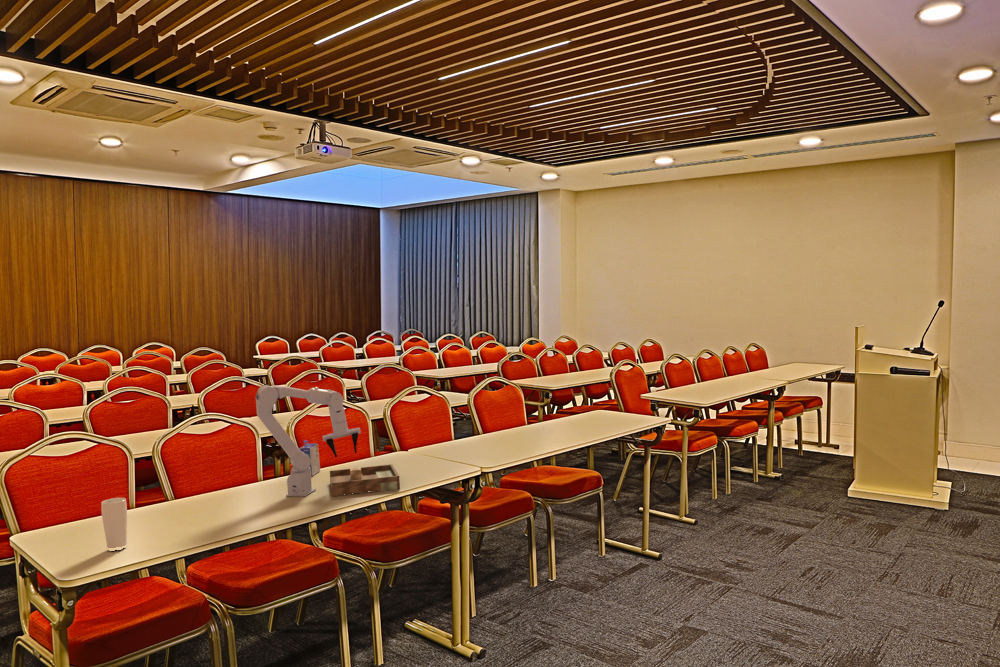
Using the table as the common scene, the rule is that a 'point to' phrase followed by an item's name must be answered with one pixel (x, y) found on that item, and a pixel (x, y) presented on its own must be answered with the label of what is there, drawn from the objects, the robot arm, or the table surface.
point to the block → (355, 474)
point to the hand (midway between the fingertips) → (346, 454)
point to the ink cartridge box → (312, 456)
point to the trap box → (365, 480)
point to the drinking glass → (115, 521)
